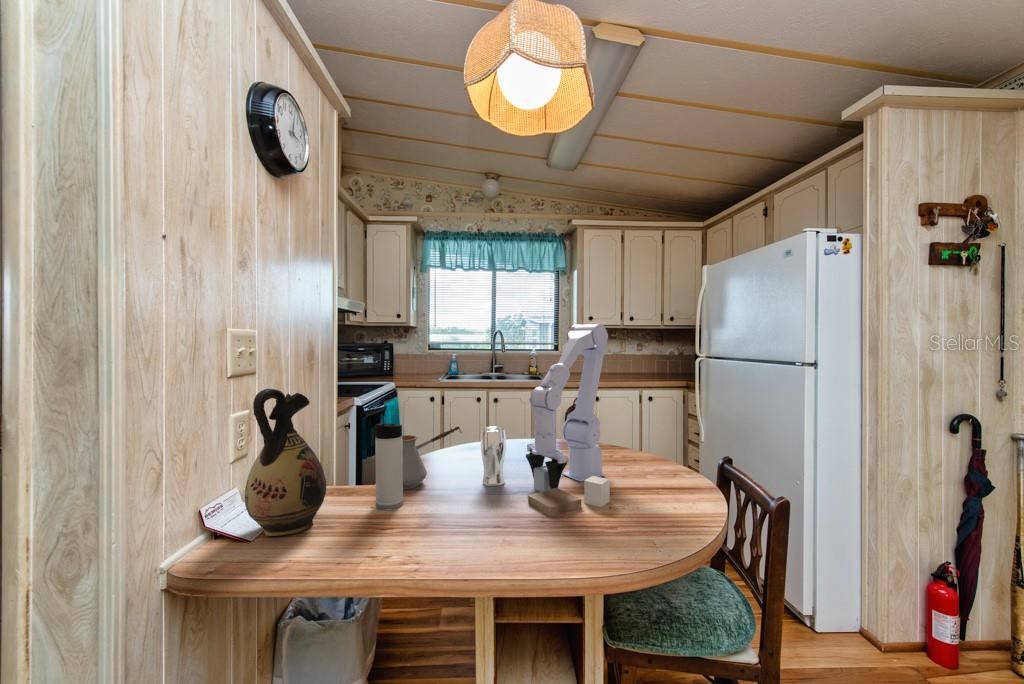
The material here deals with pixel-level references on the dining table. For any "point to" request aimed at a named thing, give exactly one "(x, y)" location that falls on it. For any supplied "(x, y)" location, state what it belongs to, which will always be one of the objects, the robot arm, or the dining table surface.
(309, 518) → the ceramic jug
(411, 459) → the coffee pot
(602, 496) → the cream block
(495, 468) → the beer glass
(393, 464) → the travel mug
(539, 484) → the slate block
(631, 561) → the dining table surface
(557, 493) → the brown block
